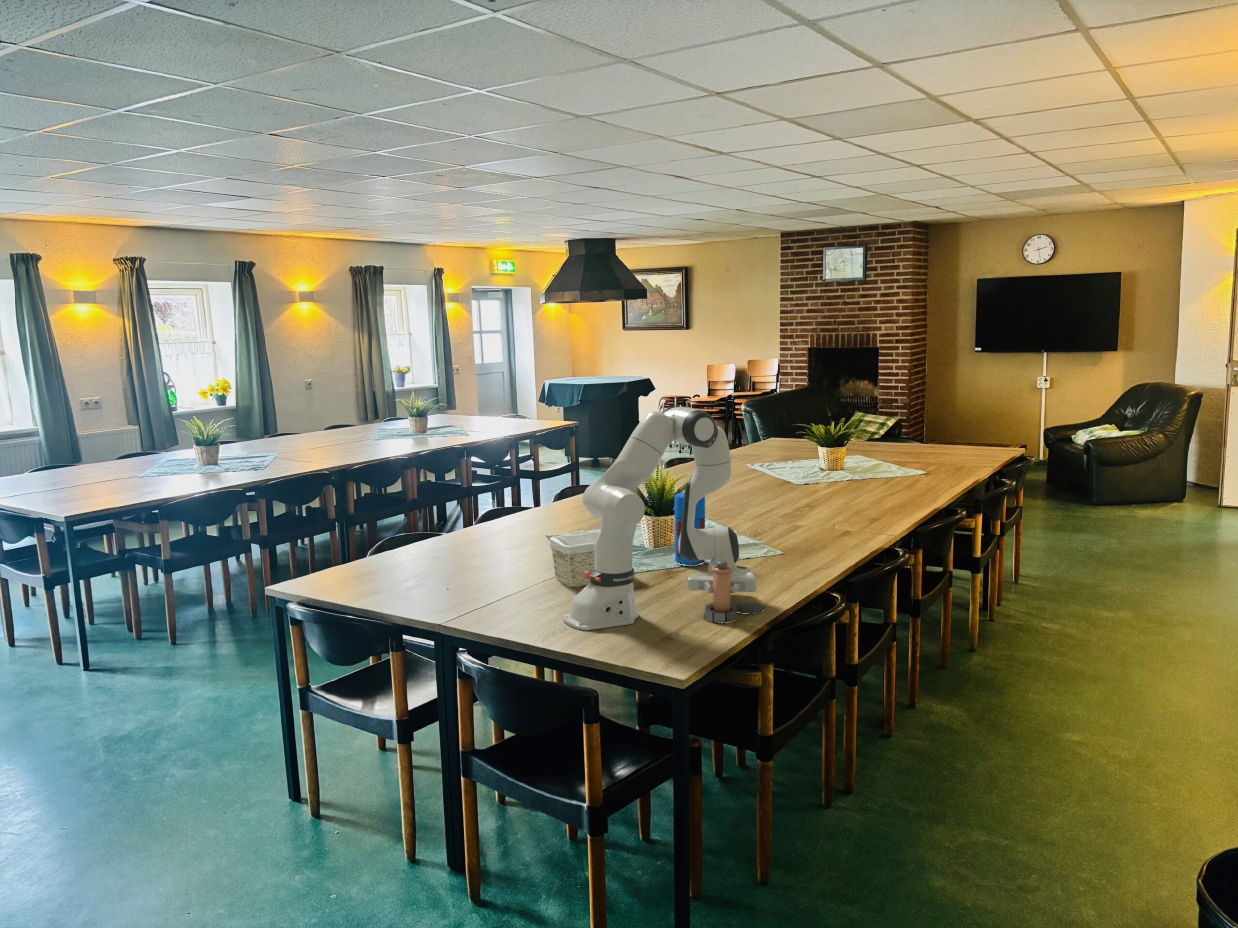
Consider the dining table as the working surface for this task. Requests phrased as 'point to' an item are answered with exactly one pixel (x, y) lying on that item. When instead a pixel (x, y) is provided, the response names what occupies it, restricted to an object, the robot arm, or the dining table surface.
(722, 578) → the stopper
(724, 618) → the collar
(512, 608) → the dining table surface
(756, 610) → the rest pad
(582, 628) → the robot arm
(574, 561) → the storage basket
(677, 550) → the thermos
